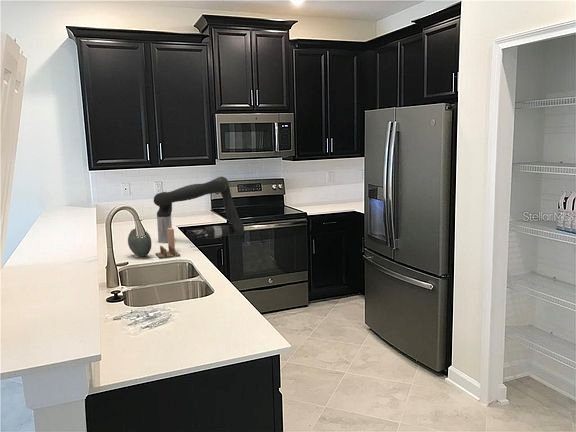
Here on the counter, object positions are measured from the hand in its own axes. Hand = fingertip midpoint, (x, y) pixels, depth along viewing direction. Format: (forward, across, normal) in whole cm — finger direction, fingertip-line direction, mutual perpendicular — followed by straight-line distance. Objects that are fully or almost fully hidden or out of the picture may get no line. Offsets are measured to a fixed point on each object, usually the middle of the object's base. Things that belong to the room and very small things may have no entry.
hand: (188, 234), depth 302 cm
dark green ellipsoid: (+31, +5, +9) cm, 32 cm away
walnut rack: (+16, +11, +9) cm, 21 cm away
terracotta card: (+11, 0, +9) cm, 14 cm away
